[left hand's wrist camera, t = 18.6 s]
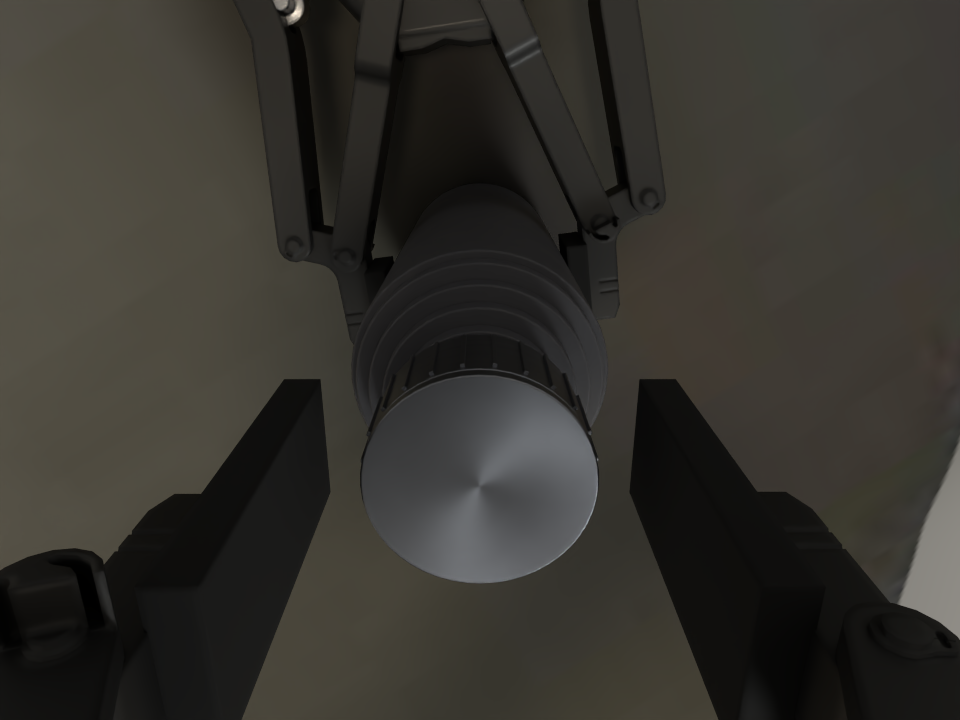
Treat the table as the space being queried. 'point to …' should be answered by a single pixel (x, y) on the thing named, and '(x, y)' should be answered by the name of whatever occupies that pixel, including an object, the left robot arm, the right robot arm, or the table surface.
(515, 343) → the cap
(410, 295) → the bottle
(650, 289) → the table surface
